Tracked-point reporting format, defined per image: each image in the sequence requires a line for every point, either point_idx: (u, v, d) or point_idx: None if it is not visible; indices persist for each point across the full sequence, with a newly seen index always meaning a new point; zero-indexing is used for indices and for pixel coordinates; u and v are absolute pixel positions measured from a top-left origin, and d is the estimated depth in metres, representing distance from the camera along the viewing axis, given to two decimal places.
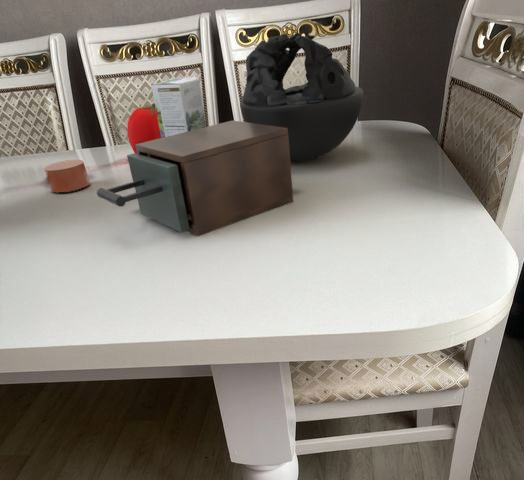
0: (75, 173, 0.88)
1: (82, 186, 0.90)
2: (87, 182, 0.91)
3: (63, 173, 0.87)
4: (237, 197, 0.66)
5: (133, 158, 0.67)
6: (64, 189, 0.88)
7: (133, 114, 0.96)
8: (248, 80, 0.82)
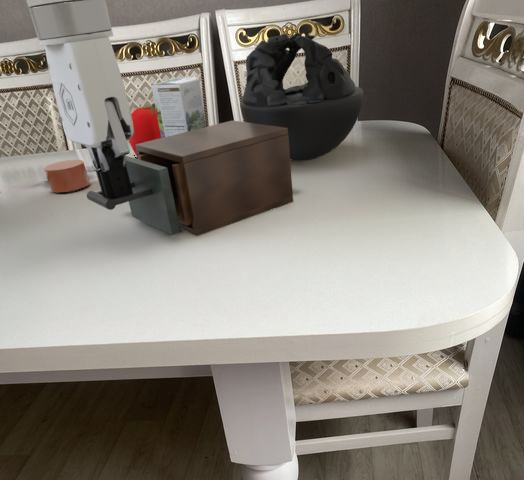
0: (75, 173, 0.88)
1: (82, 186, 0.90)
2: (87, 182, 0.91)
3: (63, 173, 0.87)
4: (237, 197, 0.66)
5: None
6: (64, 189, 0.88)
7: (133, 114, 0.96)
8: (248, 80, 0.82)
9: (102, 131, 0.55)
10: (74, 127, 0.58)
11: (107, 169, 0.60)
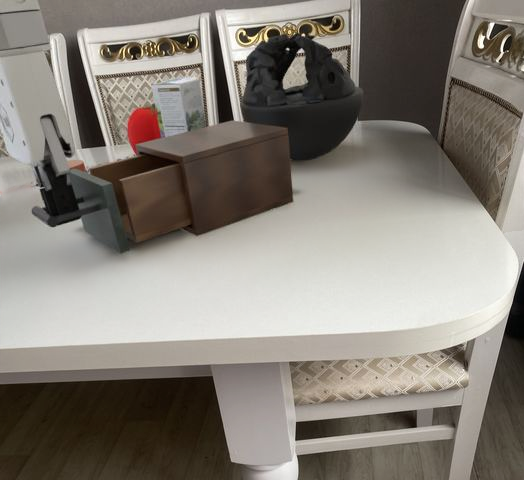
0: None
1: None
2: None
3: None
4: (237, 197, 0.66)
5: (72, 174, 0.63)
6: None
7: (133, 114, 0.96)
8: (248, 80, 0.82)
9: (39, 150, 0.52)
10: (13, 144, 0.55)
11: (49, 188, 0.57)
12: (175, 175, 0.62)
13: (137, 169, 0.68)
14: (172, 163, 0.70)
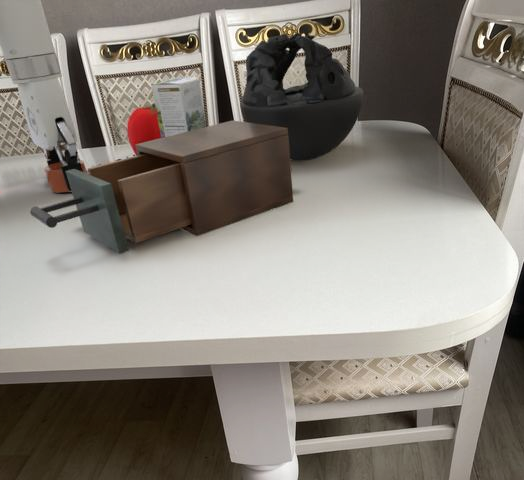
0: None
1: None
2: None
3: None
4: (237, 197, 0.66)
5: (71, 174, 0.63)
6: (64, 189, 0.88)
7: (133, 114, 0.96)
8: (248, 80, 0.82)
9: (54, 139, 0.82)
10: (37, 136, 0.85)
11: (66, 164, 0.85)
12: (174, 175, 0.61)
13: (137, 169, 0.68)
14: (171, 163, 0.70)
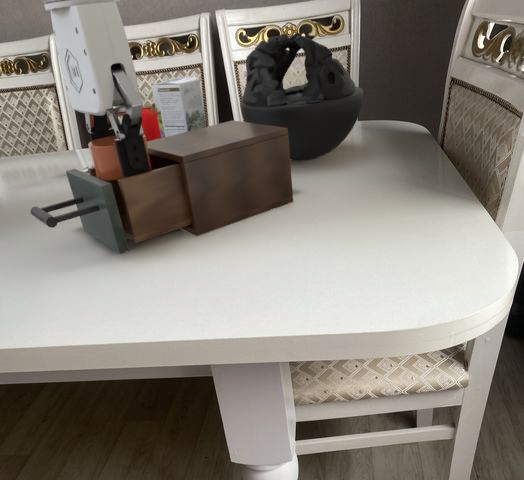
0: None
1: None
2: (150, 165, 0.62)
3: None
4: (237, 197, 0.66)
5: (71, 174, 0.63)
6: (118, 175, 0.60)
7: None
8: (248, 80, 0.82)
9: (108, 98, 0.54)
10: (79, 95, 0.57)
11: (123, 137, 0.56)
12: (174, 175, 0.61)
13: None
14: (171, 163, 0.70)
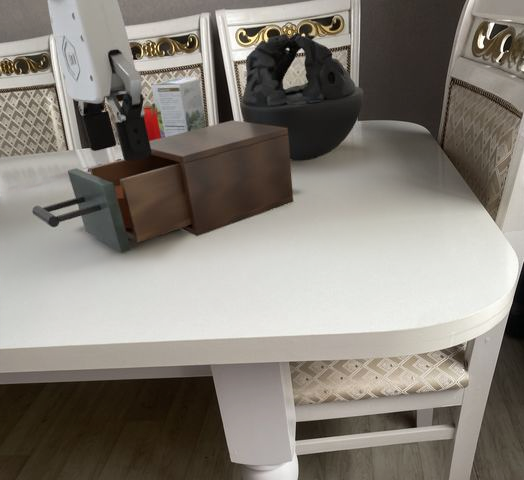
0: None
1: None
2: None
3: None
4: (237, 197, 0.66)
5: (73, 174, 0.63)
6: None
7: None
8: (248, 80, 0.82)
9: (105, 85, 0.53)
10: (77, 83, 0.56)
11: (124, 119, 0.55)
12: (176, 175, 0.62)
13: (138, 169, 0.68)
14: (173, 163, 0.70)
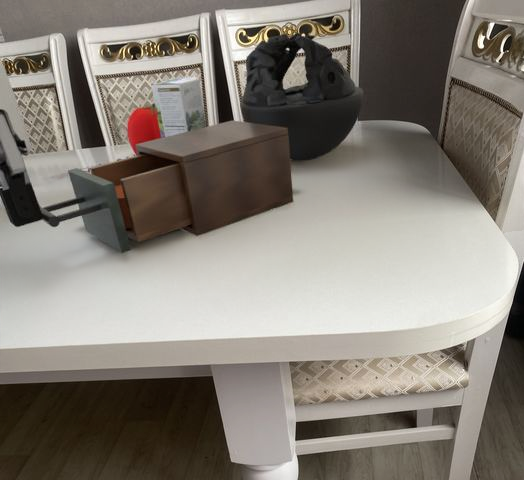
0: None
1: None
2: None
3: None
4: (237, 197, 0.66)
5: (73, 174, 0.63)
6: None
7: (133, 114, 0.96)
8: (248, 80, 0.82)
9: None
10: None
11: (6, 188, 0.54)
12: (176, 175, 0.62)
13: (139, 169, 0.68)
14: (173, 163, 0.70)
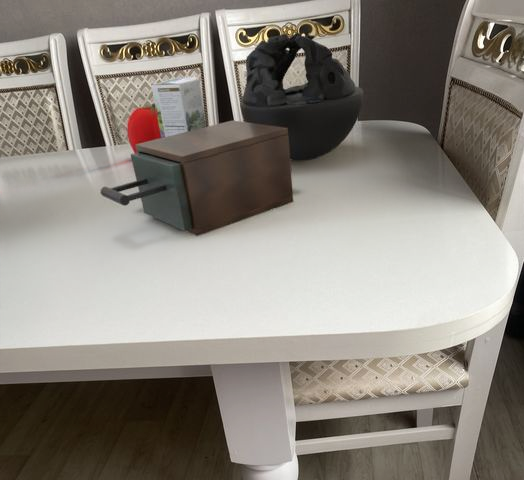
0: None
1: None
2: None
3: None
4: (237, 197, 0.66)
5: (137, 157, 0.67)
6: None
7: (133, 114, 0.96)
8: (248, 80, 0.82)
9: None
10: None
11: None
12: None
13: None
14: None
